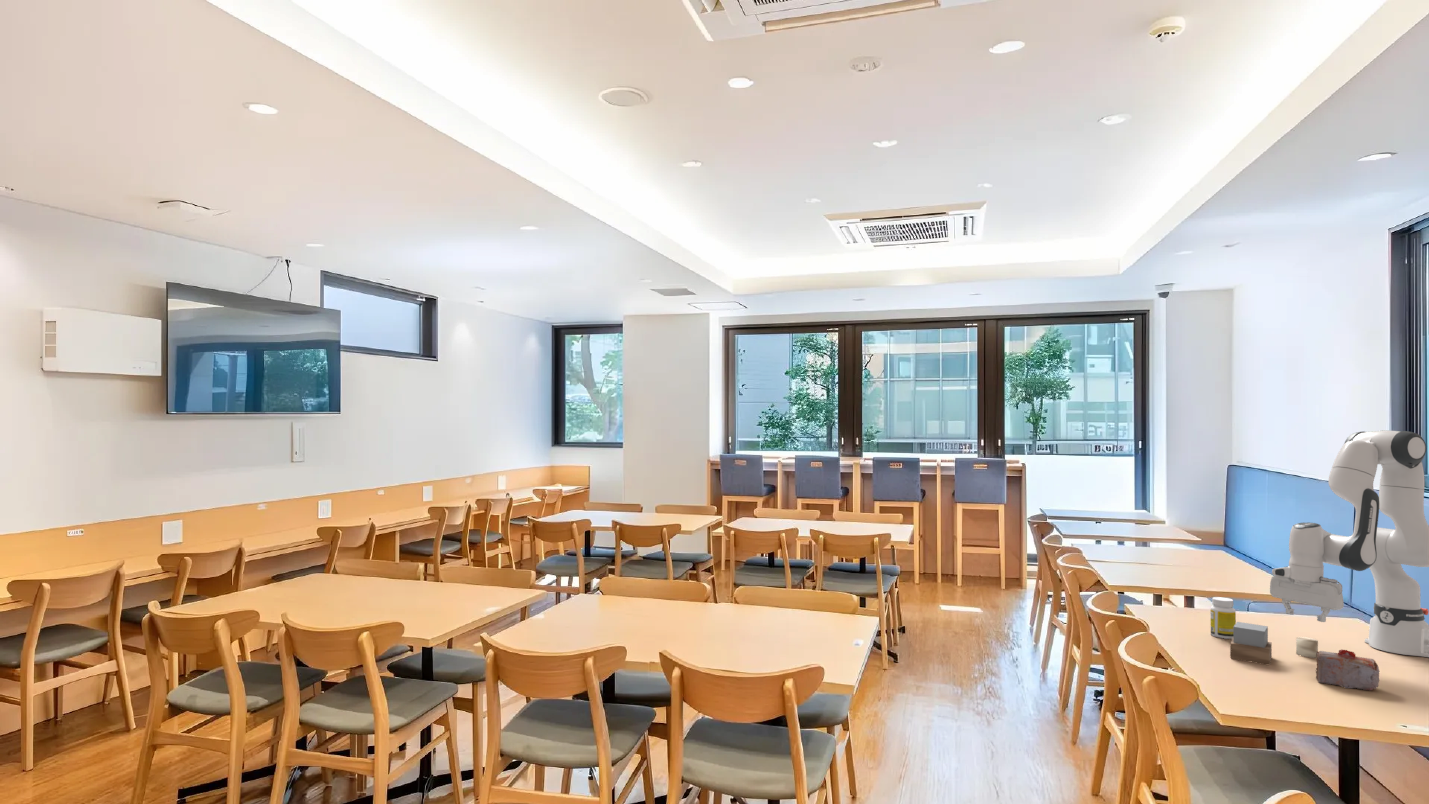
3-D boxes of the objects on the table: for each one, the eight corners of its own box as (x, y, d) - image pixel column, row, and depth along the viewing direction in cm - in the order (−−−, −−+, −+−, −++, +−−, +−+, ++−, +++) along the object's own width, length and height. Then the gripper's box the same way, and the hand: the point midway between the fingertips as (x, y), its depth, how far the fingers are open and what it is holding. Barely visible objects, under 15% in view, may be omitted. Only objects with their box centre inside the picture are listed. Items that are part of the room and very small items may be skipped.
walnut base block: (1233, 652, 250) (1233, 636, 250) (1271, 658, 244) (1271, 642, 244) (1230, 659, 242) (1230, 643, 243) (1269, 666, 236) (1269, 649, 236)
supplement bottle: (1240, 638, 265) (1240, 600, 265) (1226, 640, 263) (1226, 602, 263) (1219, 632, 272) (1219, 595, 272) (1205, 634, 269) (1205, 597, 270)
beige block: (1303, 652, 250) (1303, 636, 250) (1322, 656, 245) (1322, 641, 245) (1292, 653, 248) (1292, 637, 248) (1310, 658, 243) (1310, 642, 243)
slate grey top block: (1237, 637, 249) (1237, 621, 249) (1267, 642, 244) (1267, 626, 244) (1233, 642, 243) (1233, 626, 243) (1264, 647, 238) (1264, 631, 238)
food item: (1376, 686, 218) (1376, 651, 218) (1380, 694, 211) (1380, 658, 212) (1315, 677, 226) (1314, 642, 226) (1317, 684, 219) (1317, 649, 219)
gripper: (1348, 580, 238) (1348, 625, 238) (1279, 567, 258) (1279, 609, 257) (1335, 581, 236) (1334, 626, 236) (1266, 568, 255) (1266, 610, 255)
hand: (1305, 617), depth 247 cm, fingers open, 8 cm apart
